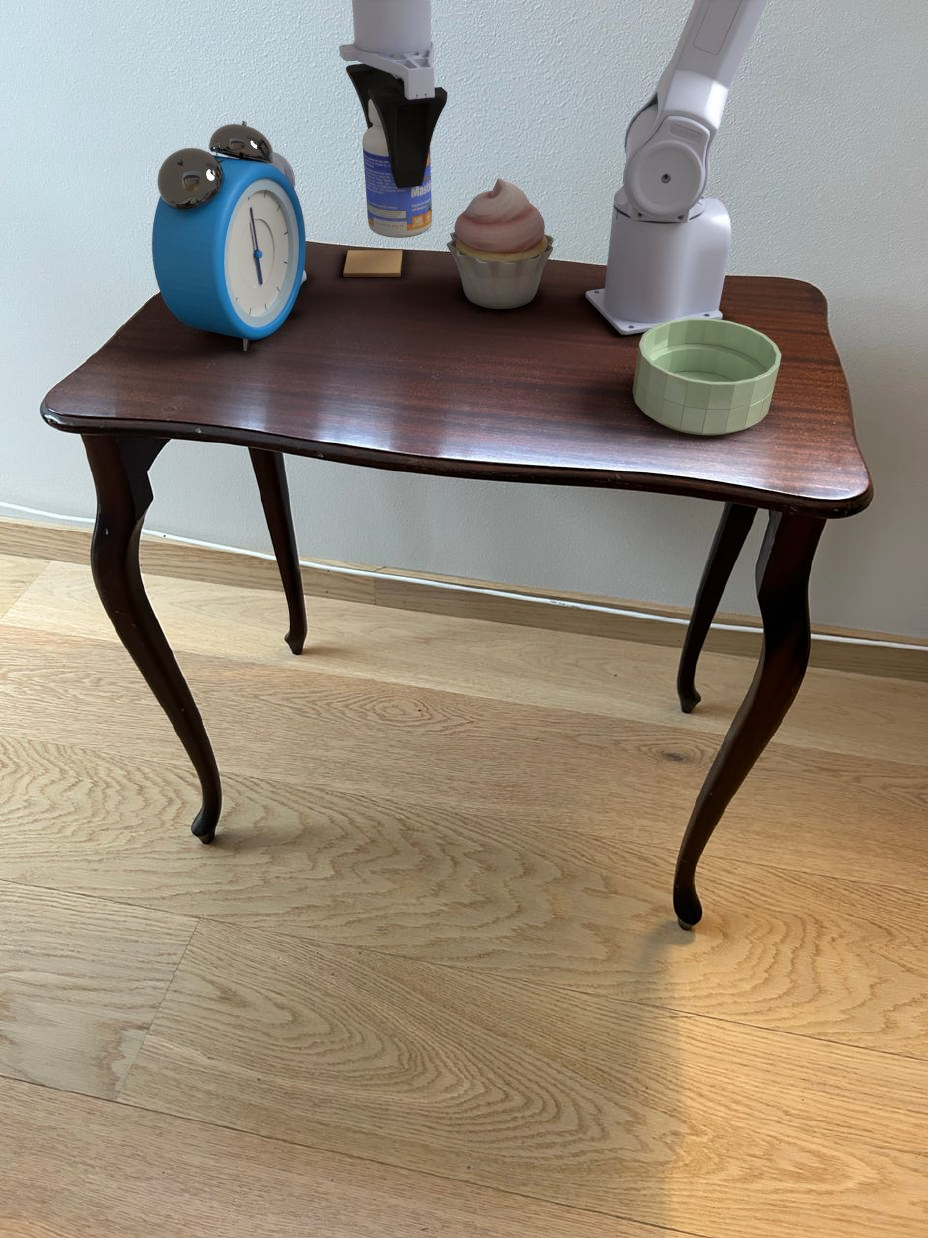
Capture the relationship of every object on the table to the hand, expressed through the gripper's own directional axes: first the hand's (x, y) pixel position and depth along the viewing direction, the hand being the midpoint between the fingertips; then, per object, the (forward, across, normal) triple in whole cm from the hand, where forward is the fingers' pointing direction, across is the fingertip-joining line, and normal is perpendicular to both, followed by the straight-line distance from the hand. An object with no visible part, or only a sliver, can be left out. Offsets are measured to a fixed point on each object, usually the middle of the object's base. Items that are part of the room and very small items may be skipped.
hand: (398, 173), depth 78 cm
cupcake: (+11, +2, +8) cm, 14 cm away
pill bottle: (+4, 0, 0) cm, 5 cm away
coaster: (+10, -7, -1) cm, 13 cm away
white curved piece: (+11, -6, -10) cm, 16 cm away
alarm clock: (+11, +2, -14) cm, 18 cm away
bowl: (+10, +25, +16) cm, 31 cm away
